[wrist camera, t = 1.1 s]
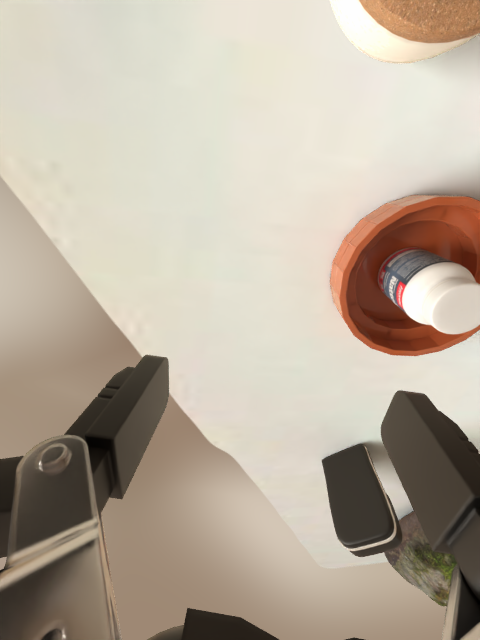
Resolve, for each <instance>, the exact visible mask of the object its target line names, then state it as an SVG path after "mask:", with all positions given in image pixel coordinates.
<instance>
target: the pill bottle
mask: <svg viewBox="0 0 480 640" xmlns="http://www.w3.org/2000/svg"><path fill="white" fill-rule="evenodd" d="M378 285H379V287H380V289H381V291H382V292H383V293H384V294H385V295H386V296H387V297H388V298H389V299H390V300H392V302H394V303H395V304H396V305H397V306H398V307H399V308H400V309H401V310H402V311H404V312H405V313H406V314H407V315H408V316H409V317H410V318H412V319H413V320H415V321H416V322H419V323H422V324H426V325H432V326H433V327H434V328H436V329H437V330H438V331H440V332H443V333H446V334H461V333H465V332H468V331H470V330H472V329H474V328H476V327H477V326H479V325H480V284H478V283H476V281H475V279H474V277H473V275H472V274H471V272H470V271H469V270H468V269H466V268H465V267H463V266H462V265H460V264H457V263H455V262H453V261H450V260H448V259H446V258H443V257H441V256H438V255H436V254H434V253H431V252H429V251H427V250H424V249H421V248H416V247H409V248H404V249H401V250H398V251H396V252H394V253H393V254H391V255H390V256H389V257H388V258H387V259H386V260H385V261H384V262H383V264H382V265H381V267H380V269H379V272H378Z"/></svg>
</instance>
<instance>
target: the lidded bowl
mask: <svg viewBox="0 0 480 640" xmlns="http://www.w3.org/2000/svg"><path fill="white" fill-rule="evenodd" d="M330 2H331V5H332V9H333V12H334V14H335V16H336V19H337V21H338V23H339V25H340V27H341V29H342V30H343V32H344V33H345V35H346V36H347V38H348V39H349V40H350V41H351V43H352V44H353V45H354V46H355V47H356V48H357V49H359V50H360V51H362V52H363V53H365V54H366V55H368V56H369V57H372V58H374V59H377V60H379V61H382V62H388V63H394V64H401V63H412V62H416V61H421V60H425V59H429V58H433V57H435V56H438V55H440V54H443V53H445V52H447V51H450V50H452V49H454V48H456V47H458V46H461V45H462V44H464V43H466V42H467V41H469V40H471V39H472V38H474V37H476V36H477V35H479V34H480V0H330Z"/></svg>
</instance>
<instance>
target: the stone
mask: <svg viewBox="0 0 480 640" xmlns="http://www.w3.org/2000/svg"><path fill="white" fill-rule="evenodd" d="M399 524H400V527H401V530H402V542H401V544H400V545H399V546H398V547H397V548H395V549H392V550H389V551H386V552H384V553H385V556H386V558H387V559H388V561H389V563H390V564H391V565H392V567H393V568H394V569H395V570H396V571H397V572H398V573H399V574H400V575H401V576H402V577H403V578H404V579H406V580H407V581H408V582H409V583H411V584H412V585H414V586H416V587H417V588H419V589H420V590H422V591H423V592H424V593H426V594H427V595H428V596H429V597H430V598H431V599H432V600H434V601H435V602H436V603H438V604H439V605H441V606H447V602H448V596H449V589H450V583H451V576H452V571H453V569H454V567H455V566H456V565H457V562H456V560H455V558H454V556H453V555H452V554H446V553H440V552H434V551H432V549H431V546H430V544H429V542H428V540H427V538H426V535H425V533H424V531H423V529H422V527H421V525H420V522H419V520H418V518H417V516H416V514H415V511H414V512H412V513H410V514H408V515H406V516H404V517H403V518H402V519H401V520H399Z"/></svg>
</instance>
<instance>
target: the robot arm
mask: <svg viewBox="0 0 480 640" xmlns="http://www.w3.org/2000/svg"><path fill="white" fill-rule="evenodd" d="M168 397H169V364H168V359H167V358H166V357H159V356H151V355H145V356H144V357H143V358H142V360H141V361H140V362H139V363H138V365H137V366H136V367H135V368H133V367H127V368H125V369H124V370H122V371H120V372H119V373H117V374H116V375H114V376H113V377H112V379H111V380H110V381H109V382H108V383H107V385H106V387H105V388H103V389H102V391H101V392H100V393H99V394H98V397H96V398H95V399H94V400H93V401H92V402H91V404H90V405H89V406H88V407H87V408H86V409H85V411H84V412H83V413H82V414H81V415H80V417H79V418H78V419H77V420H76V421H75V422H74V424H73V425H72V426H71V427H70V428H69V430H68V431H67V432H66V433H65V434H64V435H61V436H56V437H53V438H50V439H47V440H45V441H43V442H41V443H39V444H38V445H36V446H35V447H33V448H32V449H31V450H30V451H29V452H28V453H26V455H25V456H20V457H13V458H6V459H0V558H2V557H7V560H6V564H5V567H4V569H2V570H0V640H122V639H121V633H120V626H119V621H118V615H117V609H116V604H115V597H114V592H113V586H112V579H111V573H110V567H109V560H108V553H107V547H106V541H105V534H104V528H103V522H102V515H101V512H102V510H103V508H104V506H105V504H106V502H107V501H108V499H109V497H111V498H117V499H122V498H123V496H124V494H125V492H126V490H127V488H128V486H129V484H130V482H131V480H132V478H133V476H134V473H135V471H136V469H137V467H138V465H139V463H140V461H141V459H142V457H143V454H144V452H145V450H146V448H147V446H148V444H149V442H150V440H151V437H152V435H153V434H154V431H155V429H156V427H157V425H158V423H159V421H160V419H161V417H162V415H163V413H164V411H165V408H166V405H167V402H168ZM381 437H382V441H383V444H384V446H385V448H386V450H387V452H388V455H389V457H390V459H391V461H392V463H393V465H394V468H395V470H396V472H397V474H398V476H399V479H400V481H401V483H402V485H403V487H404V490H405V492H406V494H407V496H408V498H409V500H410V503H411V505H412V507H413V509H414V511H415V514H416V516H417V518H418V520H419V522H420V525H421V527H422V529H423V531H424V533H425V535H426V538H427V540H428V542H429V544H430V546H431V549H432V551H434V552H440V553H446V554H452V555H453V556H454V558H455V560H456V562H457V565H456V566H455V567H454V569H453V571H452V576H451V583H450V589H449V596H448V602H447V609H446V615H445V622H444V628H443V635H442V640H480V454H479V453H478V450H477V449H476V447H475V446H474V445H473V444H472V442H469V441H468V438H467V436H466V435H465V434H464V433H463V431H462V430H461V429H460V428H459V426H458V425H457V424H456V423H454V422H453V421H452V420H451V419H449V418H448V417H447V416H446V415H444V414H443V413H442V412H441V411H438V410H437V408H436V407H435V406H434V405H433V403H432V402H431V401H430V399H429V398H428V397H427V396H426V395H425V394H422V393H415V392H408V391H397V392H396V393H395V395H394V397H393V399H392V401H391V404H390V406H389V408H388V411H387V413H386V415H385V417H384V420H383V422H382V425H381ZM148 640H279V639H277V638H276V637H274V636H272V635H270V634H269V633H267V632H265V631H263V630H262V629H260V628H258V627H256V626H255V625H253V624H251V623H249V622H248V621H246V620H244V619H242V618H240V617H235V616H229V615H224V614H218V613H212V612H206V611H201V610H196V609H190V608H188V609H187V613H186V618H185V623H184V625H182V626H177V627H173V628H170V629H168V630H165V631H163V632H160V633H158V634H156V635H155V636H153V637H151V638H149V639H148ZM346 640H364V639H358V638H350V639H346Z"/></svg>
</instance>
